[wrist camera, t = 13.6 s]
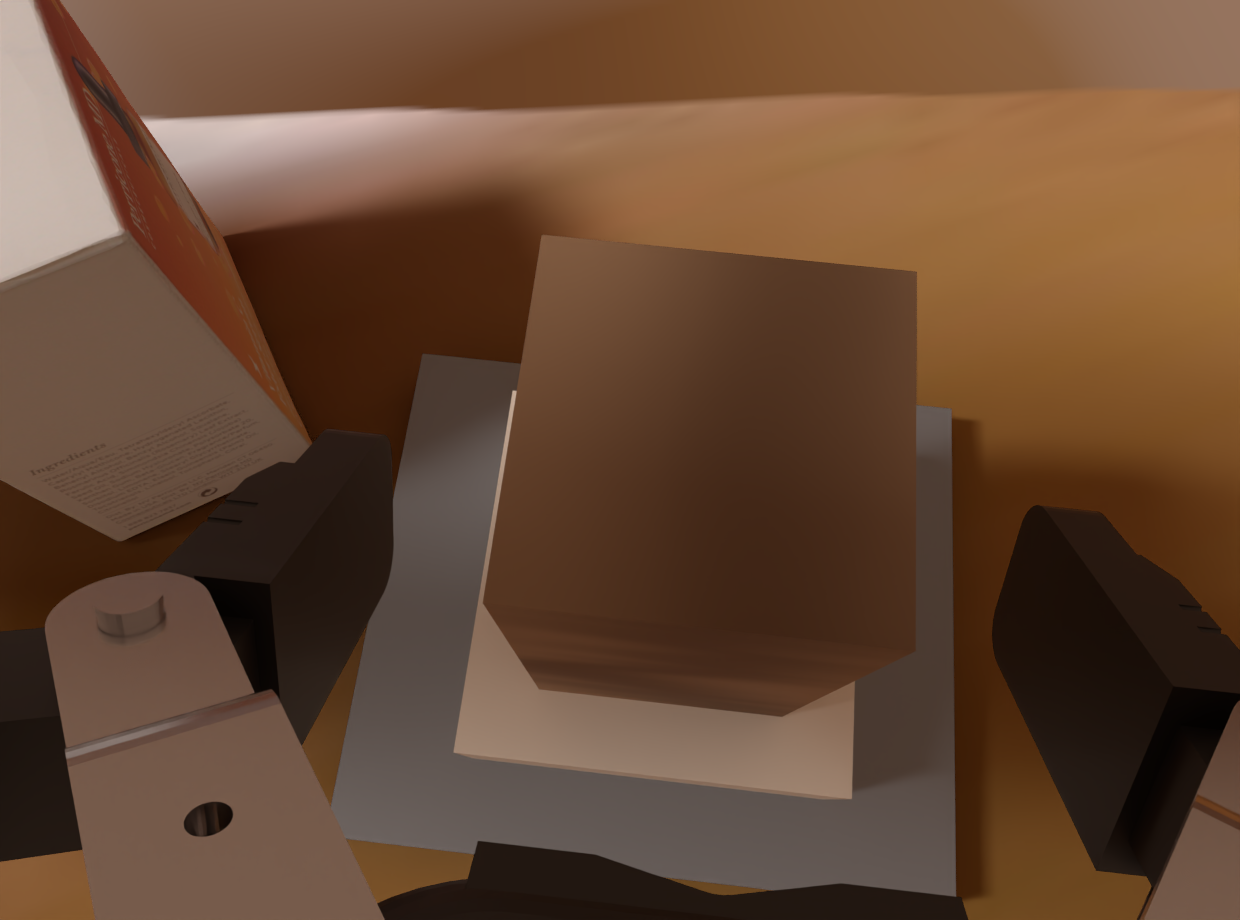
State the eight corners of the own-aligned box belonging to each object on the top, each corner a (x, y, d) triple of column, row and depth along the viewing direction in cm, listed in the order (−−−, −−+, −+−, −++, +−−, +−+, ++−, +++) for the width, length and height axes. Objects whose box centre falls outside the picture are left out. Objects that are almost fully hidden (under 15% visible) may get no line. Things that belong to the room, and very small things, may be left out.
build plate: (339, 834, 22) (283, 841, 18) (430, 372, 26) (400, 301, 22) (938, 906, 22) (1006, 928, 18) (936, 425, 26) (991, 361, 22)
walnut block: (538, 689, 19) (482, 602, 11) (569, 461, 21) (542, 235, 13) (782, 716, 19) (915, 650, 11) (793, 485, 21) (916, 271, 12)
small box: (321, 459, 25) (136, 240, 15) (118, 550, 24) (-218, 379, 15) (225, 230, 28) (10, -86, 18) (36, 304, 27) (-299, 16, 17)
